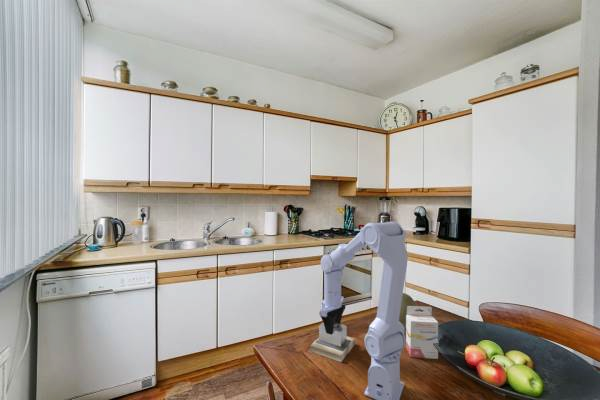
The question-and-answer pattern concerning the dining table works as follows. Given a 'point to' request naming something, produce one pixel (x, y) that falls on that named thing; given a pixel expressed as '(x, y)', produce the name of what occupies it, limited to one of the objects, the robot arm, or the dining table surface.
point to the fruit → (405, 309)
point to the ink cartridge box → (421, 332)
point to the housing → (333, 335)
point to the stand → (332, 349)
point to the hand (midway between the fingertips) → (333, 329)
